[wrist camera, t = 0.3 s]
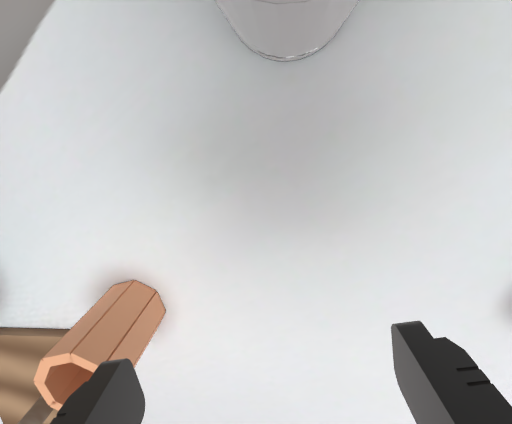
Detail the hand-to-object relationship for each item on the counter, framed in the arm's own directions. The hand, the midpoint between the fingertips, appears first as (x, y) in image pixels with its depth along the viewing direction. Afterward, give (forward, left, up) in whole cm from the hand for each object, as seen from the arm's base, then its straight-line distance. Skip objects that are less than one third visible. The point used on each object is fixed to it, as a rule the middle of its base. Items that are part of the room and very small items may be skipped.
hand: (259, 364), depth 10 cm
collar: (+12, -15, -19) cm, 27 cm away
